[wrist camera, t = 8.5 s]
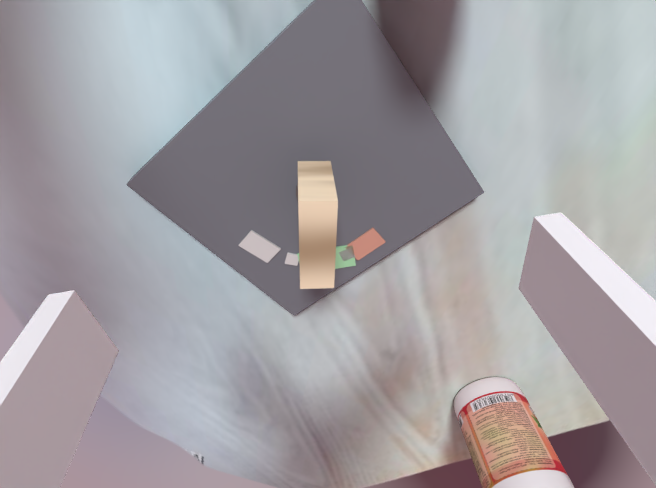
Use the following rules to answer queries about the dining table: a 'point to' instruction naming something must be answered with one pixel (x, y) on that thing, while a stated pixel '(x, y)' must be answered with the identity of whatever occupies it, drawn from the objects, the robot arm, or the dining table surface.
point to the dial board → (310, 154)
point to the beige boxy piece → (317, 224)
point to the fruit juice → (506, 437)
